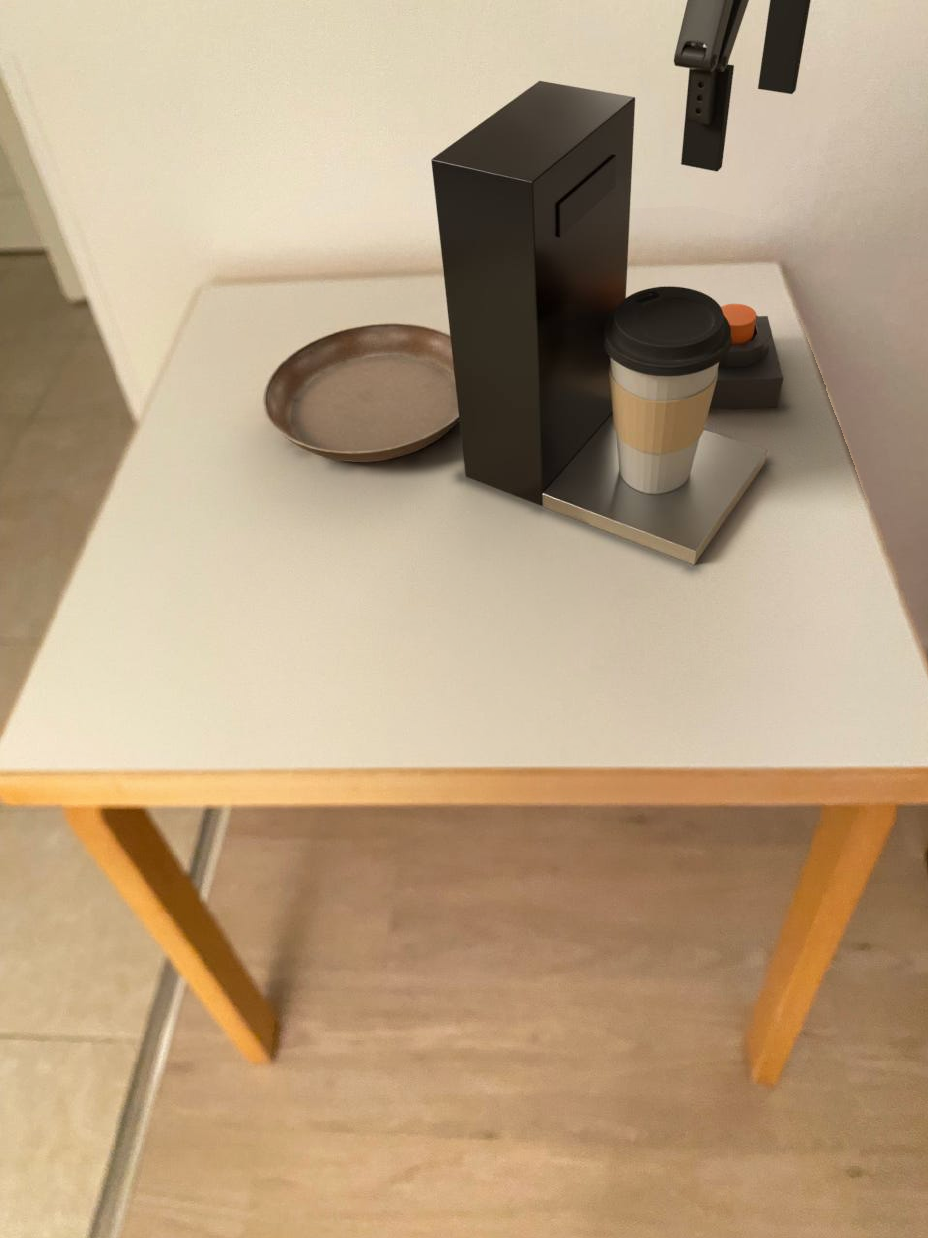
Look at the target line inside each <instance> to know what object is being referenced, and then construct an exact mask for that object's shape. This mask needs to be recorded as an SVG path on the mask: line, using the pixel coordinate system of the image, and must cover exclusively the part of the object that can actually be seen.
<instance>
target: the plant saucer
mask: <svg viewBox="0 0 928 1238" xmlns="http://www.w3.org/2000/svg"><path fill="white" fill-rule="evenodd" d="M262 402H263V403H262V405H263V411H264V413H265V416H266V418H267V419H268V421H269V423H270V424H271V425H272V427H273V428H274V429H275V430H276V431H277V432H278V433H279V434H281V436H283V437H284V438H285V439H287V440H288V441H290V442H291V443H293V444H294V445H296V446H297V447H299V448H301V449H303V450H305V451H308V452H310V453H312V454H314V455H317V456H321V457H324V458H328V459H332V460H337V461H344V462H351V463H352V462H353V463H356V462H357V463H359V462H360V463H369V462H378V461H379V462H380V461H385V460H386V461H387V460H391V459H396V458H399V457H404V456H406V455H409V454H411V453H414V452H417V451H419V450H421V449H423V448H425V447H428V445H431V444H432V443H434V442H436V441H437V440H439V439H440V438H441V437H443V436H444V435H446V434H447V433H449V432H450V430H451V429H453V428H454V427H455V426H456V424H458V423H460V421H459V412H458V402H457V393H456V384H455V375H454V365H453V356H452V347H451V338H450V333H447V332H446V331H443V330H440V329H438V328H434V327H431V326H426V325H422V324H421V325H420V324H414V323H407V322H406V323H405V322H380V323H369V324H362V325H356V326H352V327H346V328H344V329H343V328H342V329H340V330H337V331H336V330H335V331H333V332H331V333H328V334H325V335H323V336H320V337H318V338H316V339H313V340H311V341H310V342H307V343H305V344H304V345H303V346H301V347H299V348H298V349H296V350H294V351H293V352H292V353H291V354H288V356H287V357H285V358H284V360H282V361H281V362H280V363H279V365H277V367H276V368H275V369H274V371H273V372H272V373H271V374H270V376H269V377H268V380H267V382H266V384H265V386H264V390H263V395H262Z"/></svg>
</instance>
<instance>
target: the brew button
mask: <svg viewBox="0 0 928 1238" xmlns="http://www.w3.org/2000/svg"><path fill="white" fill-rule="evenodd" d="M720 307H721V308H722V311H723V314H724V316H725V317H726V319H727V320H728V322H729V324H730V327H731V337H732V343H731V344H743V343H745V342H748V341H750V340H751V339H752V338H753V334H754V328H755V322H756V315H757V312H756V310H755V309H754V308H753V307H751V306H749V305H746V304H743V303H728V304H724V305H722V306H720Z"/></svg>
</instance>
